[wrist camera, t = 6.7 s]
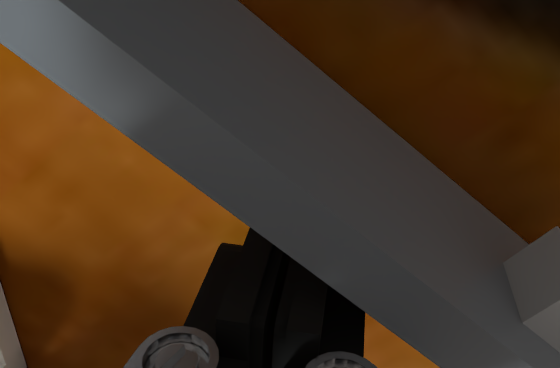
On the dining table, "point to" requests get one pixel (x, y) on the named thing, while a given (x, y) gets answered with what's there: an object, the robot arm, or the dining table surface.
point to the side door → (304, 170)
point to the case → (9, 339)
